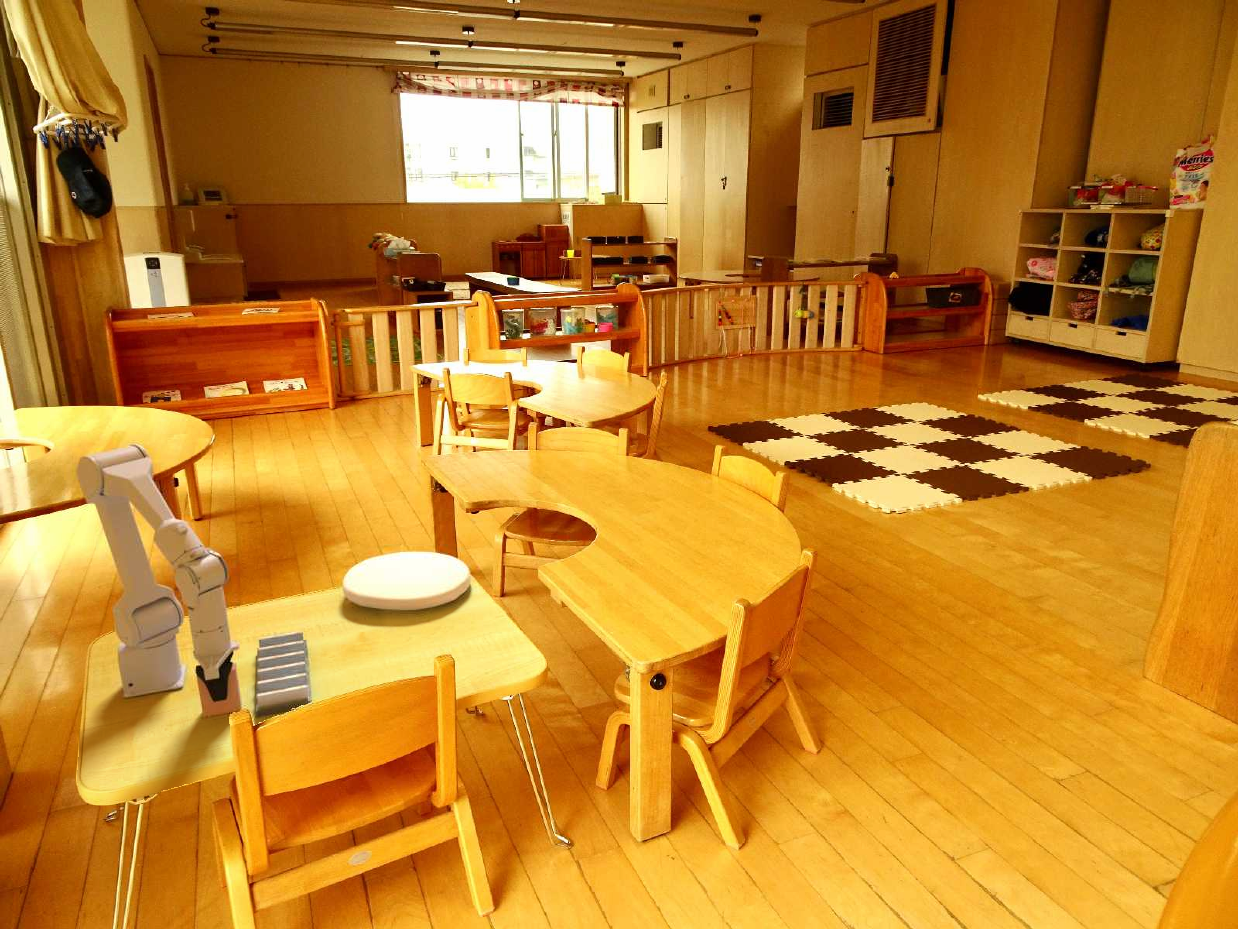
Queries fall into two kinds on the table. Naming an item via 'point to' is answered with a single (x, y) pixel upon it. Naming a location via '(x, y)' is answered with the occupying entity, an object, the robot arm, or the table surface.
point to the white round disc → (406, 581)
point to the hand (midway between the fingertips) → (220, 695)
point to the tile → (222, 706)
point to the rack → (282, 673)
